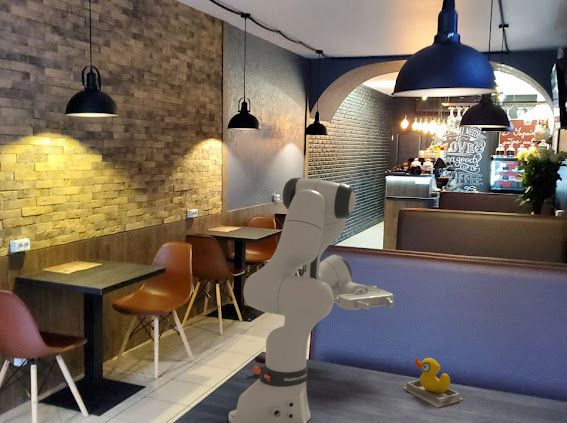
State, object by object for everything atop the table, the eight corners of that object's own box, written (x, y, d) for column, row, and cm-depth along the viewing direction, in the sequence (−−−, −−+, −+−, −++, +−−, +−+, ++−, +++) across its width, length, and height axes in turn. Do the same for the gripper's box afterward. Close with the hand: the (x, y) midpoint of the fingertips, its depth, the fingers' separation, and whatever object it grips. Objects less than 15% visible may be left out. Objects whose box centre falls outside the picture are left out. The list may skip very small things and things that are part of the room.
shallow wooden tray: (437, 407, 161) (437, 400, 160) (403, 388, 173) (403, 382, 173) (463, 400, 166) (463, 393, 166) (427, 382, 178) (428, 376, 178)
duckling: (410, 388, 173) (411, 357, 172) (419, 382, 177) (419, 352, 175) (444, 399, 165) (445, 366, 164) (452, 393, 169) (453, 361, 168)
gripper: (330, 289, 187) (355, 298, 175) (378, 285, 197) (405, 293, 185) (329, 308, 187) (354, 318, 175) (377, 302, 197) (404, 312, 185)
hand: (380, 305), depth 180 cm, fingers open, 8 cm apart
